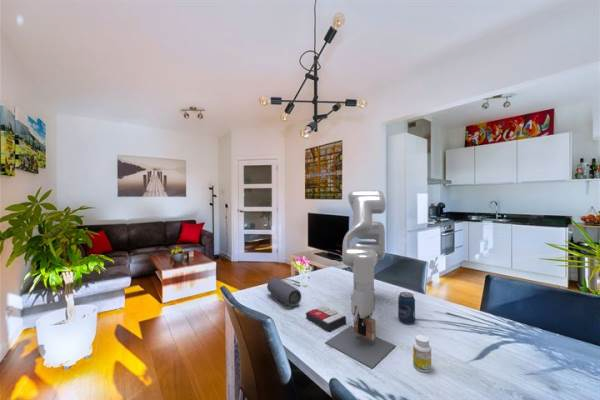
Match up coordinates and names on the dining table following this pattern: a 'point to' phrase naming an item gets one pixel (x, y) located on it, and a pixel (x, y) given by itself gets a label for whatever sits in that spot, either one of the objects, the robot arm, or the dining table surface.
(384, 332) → the dining table surface
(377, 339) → the mat
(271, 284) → the bluetooth speaker
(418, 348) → the supplement bottle
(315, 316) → the red and cream box
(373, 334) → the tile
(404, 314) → the soda can
